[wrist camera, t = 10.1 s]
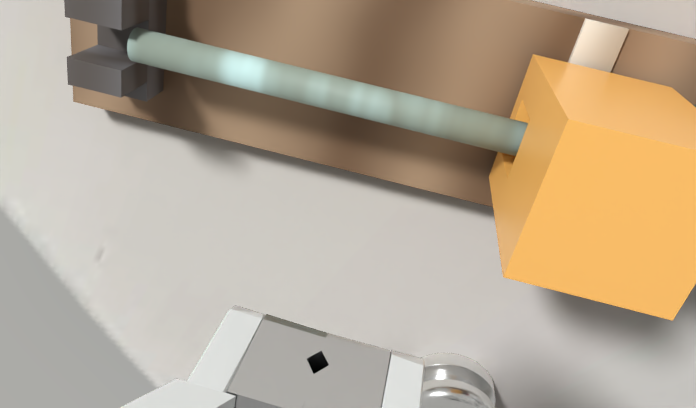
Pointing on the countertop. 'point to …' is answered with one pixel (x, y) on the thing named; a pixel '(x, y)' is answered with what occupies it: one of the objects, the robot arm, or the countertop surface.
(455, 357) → the clear spool
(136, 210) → the countertop surface
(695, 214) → the orange slider block
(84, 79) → the slider rail board
